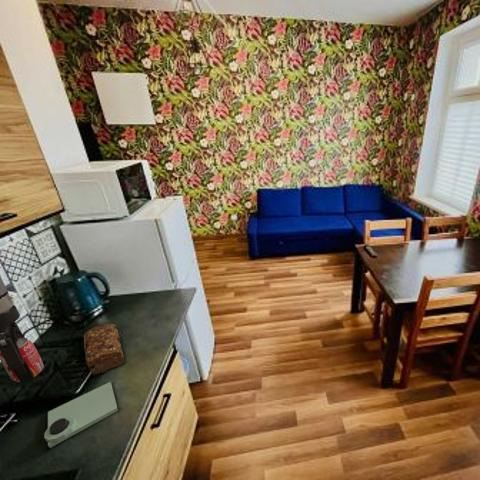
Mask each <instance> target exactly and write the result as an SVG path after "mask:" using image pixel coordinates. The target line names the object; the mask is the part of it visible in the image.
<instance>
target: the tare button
mask: <svg viewBox="0 0 480 480" xmlns="http://www.w3.org/2000/svg"><path fill="white" fill-rule="evenodd" d="M67 427H68V422H67V420H66V419H65V418H61V419H59V420H57V421H55V422H54V423H53V424H52V425H51V426H50V431H51V433H52V434H53V435H56V434H59V433H61V432H63V431H64V430H65V429H66V428H67Z"/></svg>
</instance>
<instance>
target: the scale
mask: <svg viewBox="0 0 480 480" xmlns="http://www.w3.org/2000/svg"><path fill="white" fill-rule="evenodd" d="M118 411H119V410H118V406H117V401H116V398H115V393H114V389H113V385H112V381H109V382H107V383H105V384H102V385H101V386H99V387H97V388H94V389H92V390H90V391H88V392H86V393H84V394H82V395H80V396H78V397H76V398H73V399H72V400H69V401H68V402H66V403H63V404H61V405H59V406H57V407H55V408H52V409H51V410H49V411H47V429H46V430H45V432H44V437H43V438H44V440H45V441H46V442H47V446H48V448H49V449H51V448H53V447H54V446H57V445H58V444H60V443H62V442H64V441H66V440H67V439H69V438H71V437H73V436H74V435H77V434H79V433H80V432H82V431H84V430H86V429H87V428H89V427H91V426H93V425H95V424H96V423H99V422H100V421H103V420H104V419H106V418H107V417H109V416H111V415H112V414H113V415H114V413H116V412H118ZM61 418H65V419H66V420H67V422H68V427H67V428H66V429H65V430H64V431H63V432H61V433H59V434H56V435H53V434H52V433H51V431H50V426H51V425H52V424H53V423H54V422H55V421H57V420H59V419H61Z"/></svg>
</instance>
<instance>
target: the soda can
mask: <svg viewBox="0 0 480 480" xmlns="http://www.w3.org/2000/svg"><path fill="white" fill-rule="evenodd" d="M17 345H18V347H19V350H20V352H21V355H22V357H23V360H24V361H26V362H27V364H28V366H29V368H30V370H31V372H32V374H33V375H34V378H35V377H37V376H38V375H39V374H40V373H41V372H42V371H43V370H44V368H45V366H44V362H43V360H42V357H41V356H40V354H39V352H38V349H37V348H36V346H35V344H34V343H33V341H32V340H29V339H28V338H27V337H25V338H18V341H17ZM0 362H1V364H2V366H3V367H4V369H5V371H6V373H7V374H8V377H10V379H11V380H12V381H13V382H15V383H21V382H20V381H19V379H18V377H17V375H16V374H15V372H14V370H11V371H10V370H8V369H7V368H8V365H7V363H6V361H5V360H4V358H3V356H2V354H1V352H0Z"/></svg>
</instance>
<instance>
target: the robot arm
mask: <svg viewBox="0 0 480 480" xmlns="http://www.w3.org/2000/svg"><path fill="white" fill-rule="evenodd" d="M14 298H15V296H14V295H13V294H11V295H10V292H9V291H8V289H7V287H6V284H5V282H4V280H3V279H2V276H1V275H0V352H1V354H2V356H3V358H4V360H5V361H6V363H7V365H8V368H7V369H8V370H10V371H11V370H14V372H15V374H16V375H17V377H18V379H19V381H20V382H19V383H20V384H23V383H26V382H29V381H31V380H33V379H35V377H34V375H33V374H32V372H31V370H30V368H29V366H28V364H27V362H26V361H24V360H23V357H22V355H21V352H20V350H19V347H18V345H17V341H18V338H26V337H25V336H24V334H23V332H22V331H21V328H20V327H19V325H18V323H17V322H16V321H18V320H19V319H20V317H21V314H20V311H19V310H18V308H17V306H16V305H14V304H15V303H14V301H13V299H14Z"/></svg>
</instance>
